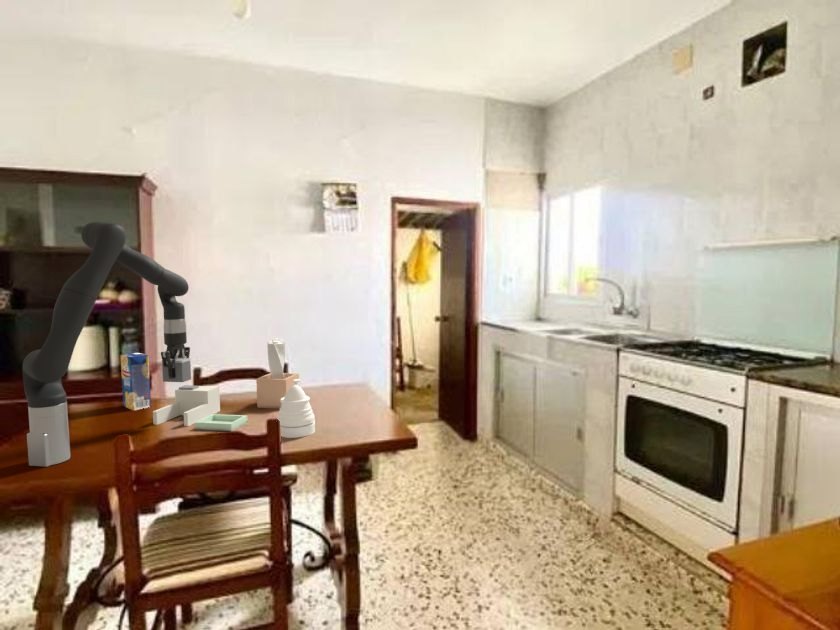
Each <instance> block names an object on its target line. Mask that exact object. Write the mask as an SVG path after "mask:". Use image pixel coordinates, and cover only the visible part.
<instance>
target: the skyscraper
mask: <svg viewBox="0 0 840 630" xmlns="http://www.w3.org/2000/svg"><path fill="white" fill-rule="evenodd" d="M280 341H282V342H280ZM267 360H268V366H269V367H268V368H269V372H270V373H271V376H270V379H284V373H285V372H284V367H285V363H286V361H285V360H286V342H285V340H284V339H282V338H280V337H279V338H276V337H275V338H272V339H271V340H270V341H267ZM286 373H287V377H289V376H288V373H289V372H288V371H287V372H286Z"/></svg>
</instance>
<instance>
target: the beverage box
mask: <svg viewBox="0 0 840 630" xmlns="http://www.w3.org/2000/svg"><path fill="white" fill-rule="evenodd" d="M149 363H150V362H149V354H145V353H142V352H141V353H140V352H132V353H123V354H120V370H121V372H120V373H121V388H122V391H121V392H122V405H123V407H125V408H127V409H129V410H131V411H138V410H142V409H143V408H144V409H148V407H149V408H152V405H151V404H152V402H151V385H150V384H151V383H150V367H149V366H150V364H149Z"/></svg>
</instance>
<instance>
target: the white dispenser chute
mask: <svg viewBox="0 0 840 630" xmlns="http://www.w3.org/2000/svg"><path fill="white" fill-rule="evenodd" d="M174 394H175V395H174V396H175V398H174V399H175V402H174V403H170V404H168V405H166V406H162V407H161V408H158V409H156V410H153V411H152V420H153V421H152V422H153V424H152V425H153V426H158V425H160V424H162V423H165V422H168V421H169V420H172V419H174V418H176V417H179V416H183V425H184V427H189V426H192V425H193V424H194V425H195V422H197V421H199V420H201V419H204V418H206V417H208V416H210V415H212V414H217V413H219V412H221V401H220V400H221V398H220V396H221V395H220V386H212V385H211V386H209V385H206V386H205V385H182V386H179V387H178V388H177V389H175V390H174Z"/></svg>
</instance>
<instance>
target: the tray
mask: <svg viewBox="0 0 840 630" xmlns="http://www.w3.org/2000/svg"><path fill="white" fill-rule="evenodd" d="M247 423H248V415H243V414H241V415H239V414H223V413H221V414H219V413H218V414H217V413H215V414H212V415H210V416H208V417H206V418H204V419H201V420H199V421H197V422H195V423H194V426H195V427H194V428H195V430H201V431H202V430H203V431H218V432H219V431H222V432H233V431H235V430H236V429H238V428H240V427H242V426H243V425H245V424H247Z"/></svg>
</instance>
